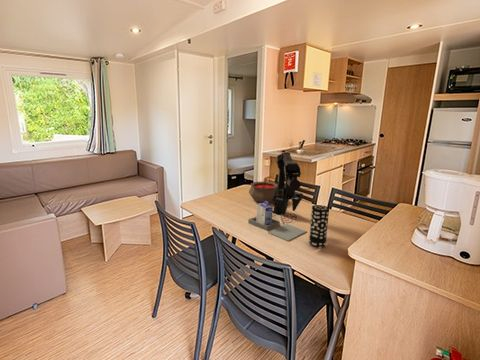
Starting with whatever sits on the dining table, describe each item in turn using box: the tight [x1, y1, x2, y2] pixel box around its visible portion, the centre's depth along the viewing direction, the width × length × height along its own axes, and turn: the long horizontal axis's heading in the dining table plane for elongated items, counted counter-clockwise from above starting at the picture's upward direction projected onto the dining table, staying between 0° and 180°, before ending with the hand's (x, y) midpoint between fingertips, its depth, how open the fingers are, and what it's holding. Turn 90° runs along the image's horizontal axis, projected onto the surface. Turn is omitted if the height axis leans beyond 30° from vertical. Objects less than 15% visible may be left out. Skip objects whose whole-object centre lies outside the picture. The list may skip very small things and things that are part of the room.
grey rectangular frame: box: [247, 216, 281, 231], centre depth 163 cm, size 12×15×2 cm
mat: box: [267, 223, 308, 242], centre depth 152 cm, size 18×14×1 cm
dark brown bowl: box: [248, 178, 278, 204], centre depth 206 cm, size 24×24×16 cm
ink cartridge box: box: [255, 201, 274, 226], centre depth 162 cm, size 10×6×14 cm, turn 28°
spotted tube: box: [308, 204, 330, 249], centre depth 137 cm, size 8×8×20 cm
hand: (288, 212), depth 149 cm, fingers open, 9 cm apart
